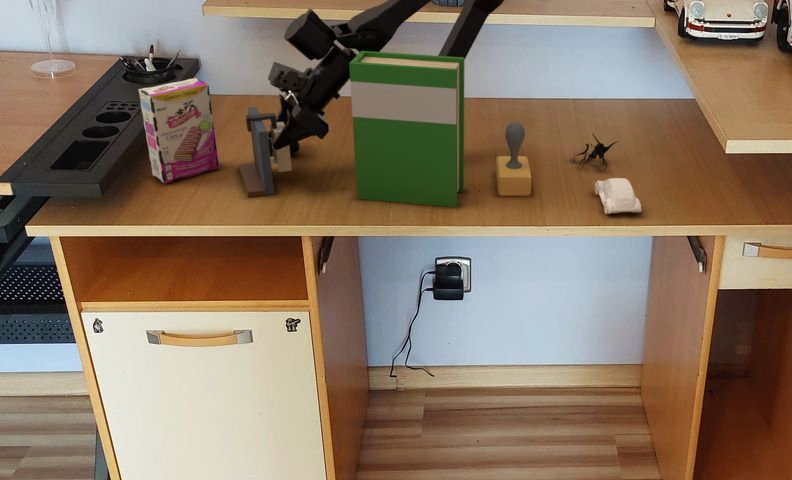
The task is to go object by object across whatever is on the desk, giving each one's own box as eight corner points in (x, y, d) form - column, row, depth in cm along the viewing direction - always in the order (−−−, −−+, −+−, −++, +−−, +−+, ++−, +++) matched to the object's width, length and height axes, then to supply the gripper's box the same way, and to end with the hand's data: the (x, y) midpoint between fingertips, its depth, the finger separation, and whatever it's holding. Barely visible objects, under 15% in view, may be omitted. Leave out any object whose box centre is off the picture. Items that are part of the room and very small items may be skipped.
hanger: (287, 160, 167) (281, 108, 161) (291, 170, 163) (286, 117, 157) (250, 164, 164) (244, 112, 159) (254, 174, 161) (248, 121, 155)
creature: (597, 180, 171) (622, 160, 175) (595, 156, 168) (621, 136, 172) (565, 168, 176) (590, 149, 180) (563, 144, 172) (589, 126, 176)
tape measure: (300, 157, 174) (299, 139, 172) (264, 160, 172) (262, 142, 170) (296, 144, 180) (294, 126, 178) (261, 147, 178) (259, 129, 176)
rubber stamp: (530, 196, 162) (533, 132, 155) (498, 195, 161) (500, 131, 155) (526, 174, 170) (529, 112, 164) (495, 173, 170) (497, 112, 163)
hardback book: (463, 189, 163) (464, 57, 151) (456, 207, 157) (456, 70, 144) (368, 182, 165) (361, 50, 153) (357, 198, 159) (349, 63, 146)
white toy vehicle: (642, 217, 155) (645, 192, 153) (607, 218, 154) (609, 193, 152) (623, 188, 165) (625, 165, 163) (590, 190, 164) (592, 166, 162)
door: (269, 166, 170) (263, 106, 164) (281, 193, 160) (274, 130, 154) (238, 169, 168) (230, 109, 162) (248, 197, 158) (240, 134, 152)
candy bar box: (165, 185, 161) (149, 96, 153) (152, 176, 164) (135, 88, 156) (221, 169, 168) (209, 82, 160) (208, 161, 171) (195, 76, 163)
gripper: (284, 33, 162) (229, 98, 164) (303, 62, 147) (242, 133, 149) (331, 72, 168) (277, 135, 171) (354, 104, 154) (294, 172, 156)
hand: (272, 142), depth 161 cm, fingers closed on hanger, 5 cm apart
